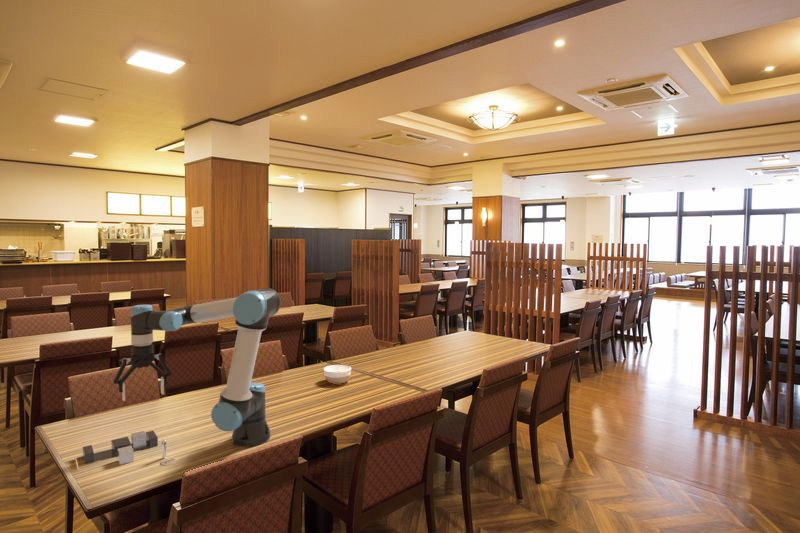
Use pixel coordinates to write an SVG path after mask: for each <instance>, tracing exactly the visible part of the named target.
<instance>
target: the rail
mask: <svg viewBox="0 0 800 533" xmlns="http://www.w3.org/2000/svg"><path fill="white" fill-rule="evenodd" d="M145 434H146V447H144V448H140V449H136V450H133V451H134V452H138V451H143V450H146V449H150V448H151V449H152V448H155V447H158V444H159V441H158V439H159V438H158V437H159V436H157V434H156V432H155V431H154V430H150V431H145ZM110 442H111V449H107V450H106V449H105V450H102V451H98V452H94V449H93V446H92V444H90V445H85V446H82V457H83V461H84V465H87V464H92V463H95V462H98V461H103V460H107V459H110V458H115V457H118V449H119V448H123V447H127V446H131V440H130V439H129V437H128V436H123V437H119V438H116V439H112V440H110Z"/></svg>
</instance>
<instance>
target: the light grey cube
mask: <svg viewBox="0 0 800 533" xmlns="http://www.w3.org/2000/svg"><path fill="white" fill-rule="evenodd" d="M130 443H131V446H132V448H133V450H136V449H140V448H144V447H146V431H144V430H140V431H137V432H133V433H130Z"/></svg>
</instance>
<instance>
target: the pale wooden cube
mask: <svg viewBox="0 0 800 533" xmlns="http://www.w3.org/2000/svg"><path fill="white" fill-rule="evenodd" d="M134 455H135V454H134V451H133V448H132V446H127V447H123V448H119V449H118V456H117V461H118V464H119V466H121V465H126V464H128V463H133V462H134V460H135V458H134V457H135V456H134Z"/></svg>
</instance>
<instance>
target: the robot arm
mask: <svg viewBox="0 0 800 533" xmlns="http://www.w3.org/2000/svg"><path fill="white" fill-rule="evenodd" d="M281 299H282V298H281V296H280V294H279V292H277V291H276V290H275V289H273V288H269V287H264V288H263V287H261V288H258V289H254V290H247V291H245V292H243V293H242V294H240V295H238V296H236V297H233V298H226V299H220V300H216V301H215V300H213V301H208V302H203V303H197V304H191V305H190V304H188V305H184V306H181V307H176V308H172V309H167V310H154V309H153V306H152V305H151V304H137V305H133V306H132V307H131V308H130V316H129V318H130V329H131V330H130V332H131V336H130V338H131V339H130V340H131V341H130V344H131V346H130V347H131V357H130V358H129V357H123V358H122V361H121V364H120V366H119V369H118V370H117V372H116V374H115V376H114V378H113V380H112V381H113V384H114V385H115V384H116V385H118V392H119V393H120V394H121V393H122V394H121V396H122V398H121V399H122V402H125V401H126V384H125V381H126V380H127V379H128V378H129V376H131V374H132V373H133V372H134V371H135V370H136V369H141V368H148V367H151V368H153V370H154V371H156V372H157V373H158V374H159V375H160V393H161V395H165V386H167V384H168V381H167V379H168V377H169V376H172V372H171V370H170V369H169V367H168V366H167V364H166V362H165V361H164V359H163V354H162V353H160V352H158V354H154V344H153V343H154V333H153V332H154V331H165V332H175V331H178V330H179V329H180V328H181V327H182V326H186V325H192V324H197V323H203V322H208V321H209V322H210V321H215V320H216V321H217V320H221V319H226V318H227V319H228V318H233V317H234V318H235V322H234V325H235V326H236V327H237V333H236V334H237V335H236V336H235V337H236V338H235V344H234V348H233V351H232V358H231V361H230V367H229V371H228V372H229V373H228V377H227V382H226V387H224V388H222V389H221V391H220V393H219V399H218V403H215V404H214V406H213V407H212V409H211V412H210V416H211V417H210V418H211V421H212V423H214V426H215V427H216V428H217V429H219V430H221V431H224V432H232V431H233V432H232V434H231V442H232V444H234V445H235V446H239V447H253V446H257V445H260V444H263V443H265V442H266V443H267V441H268V440H270V438H271V430H270V427H269V424H268V421H267V419H266V418H267V417H266V386H265V385H264V384H263V383H261V382H252V379H253V374H254V370H255V365H256V361H257V355H258V350H259V347H260V342H261V337H262V333H263V331H265V330H266V329H267V327H268V325H269V320H270V317H273V316H275V315H276V314H277V313H278V312H279V311H280V309H281V305H282V300H281ZM155 359H156V360H157V361H159V362H160V364H161V366H162V367H163V370H165V372H164V371H163V370H162V369H161V368H159V367H158V366H157V365H156V364H155V363H154V360H155ZM129 362H131V363H132V364H131V365H130V367H129V368H128V369H127V370H126V372H125V373H124V374H123V372H124V370H125V368H126V366H127V365H128V364H129ZM122 374H123V375H122Z"/></svg>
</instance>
